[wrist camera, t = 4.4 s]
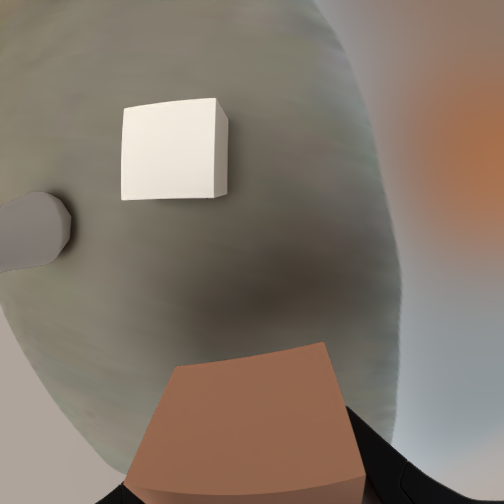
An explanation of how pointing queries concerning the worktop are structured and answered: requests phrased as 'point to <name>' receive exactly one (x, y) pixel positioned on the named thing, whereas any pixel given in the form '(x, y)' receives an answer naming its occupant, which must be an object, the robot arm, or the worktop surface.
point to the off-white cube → (174, 150)
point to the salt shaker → (32, 231)
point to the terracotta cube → (251, 435)
